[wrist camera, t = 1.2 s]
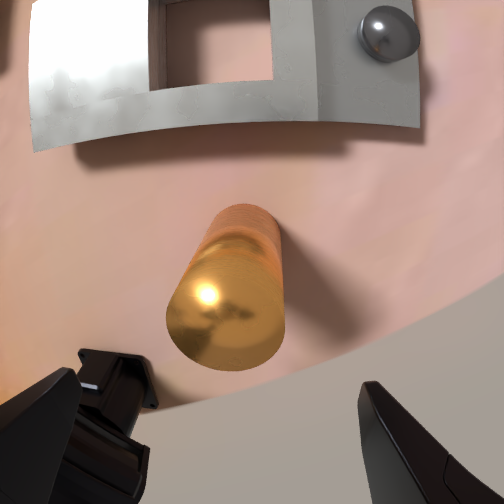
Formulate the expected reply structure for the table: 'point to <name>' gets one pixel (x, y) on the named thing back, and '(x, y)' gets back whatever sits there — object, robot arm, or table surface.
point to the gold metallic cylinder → (232, 293)
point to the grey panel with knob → (217, 94)
